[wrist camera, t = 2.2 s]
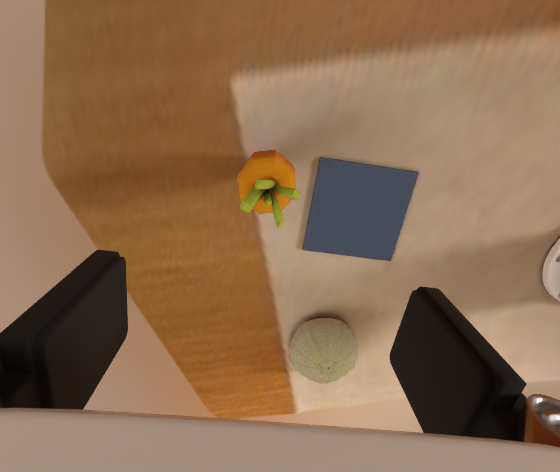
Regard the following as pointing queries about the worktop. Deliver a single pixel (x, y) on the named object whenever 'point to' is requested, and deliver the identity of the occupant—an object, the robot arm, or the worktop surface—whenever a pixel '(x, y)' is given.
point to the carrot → (267, 184)
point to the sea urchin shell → (323, 349)
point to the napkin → (358, 209)
